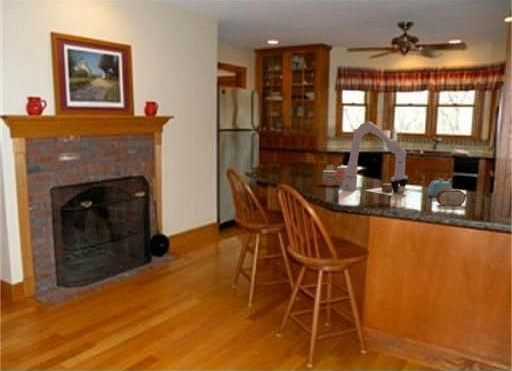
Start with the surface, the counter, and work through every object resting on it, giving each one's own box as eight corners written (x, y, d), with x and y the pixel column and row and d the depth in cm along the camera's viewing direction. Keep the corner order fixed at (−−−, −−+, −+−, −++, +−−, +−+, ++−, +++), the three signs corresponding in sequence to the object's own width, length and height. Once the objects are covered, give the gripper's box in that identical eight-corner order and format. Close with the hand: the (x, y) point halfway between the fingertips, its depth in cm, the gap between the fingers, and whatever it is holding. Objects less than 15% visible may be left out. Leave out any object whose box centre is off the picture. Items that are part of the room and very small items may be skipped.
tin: (462, 204, 237) (464, 189, 236) (465, 206, 234) (467, 190, 233) (435, 204, 237) (436, 189, 235) (437, 205, 234) (439, 190, 232)
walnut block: (392, 191, 269) (392, 184, 268) (388, 192, 266) (388, 185, 266) (386, 190, 273) (386, 183, 272) (381, 191, 270) (382, 184, 269)
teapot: (460, 179, 256) (443, 181, 246) (459, 197, 258) (441, 200, 248) (441, 176, 266) (423, 178, 256) (439, 193, 268) (421, 196, 258)
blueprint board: (410, 193, 266) (410, 192, 266) (395, 196, 256) (395, 195, 256) (379, 188, 283) (379, 187, 283) (364, 191, 273) (364, 190, 273)
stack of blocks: (322, 185, 294) (322, 166, 292) (323, 183, 300) (324, 165, 298) (354, 187, 288) (355, 168, 286) (355, 185, 294) (356, 167, 292)
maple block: (403, 193, 263) (404, 186, 262) (399, 194, 260) (399, 187, 259) (397, 192, 267) (397, 185, 266) (392, 193, 264) (393, 186, 263)
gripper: (398, 171, 253) (397, 194, 256) (412, 169, 262) (411, 191, 265) (388, 169, 259) (386, 192, 261) (402, 167, 268) (400, 189, 270)
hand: (398, 191), depth 263 cm, fingers open, 6 cm apart
